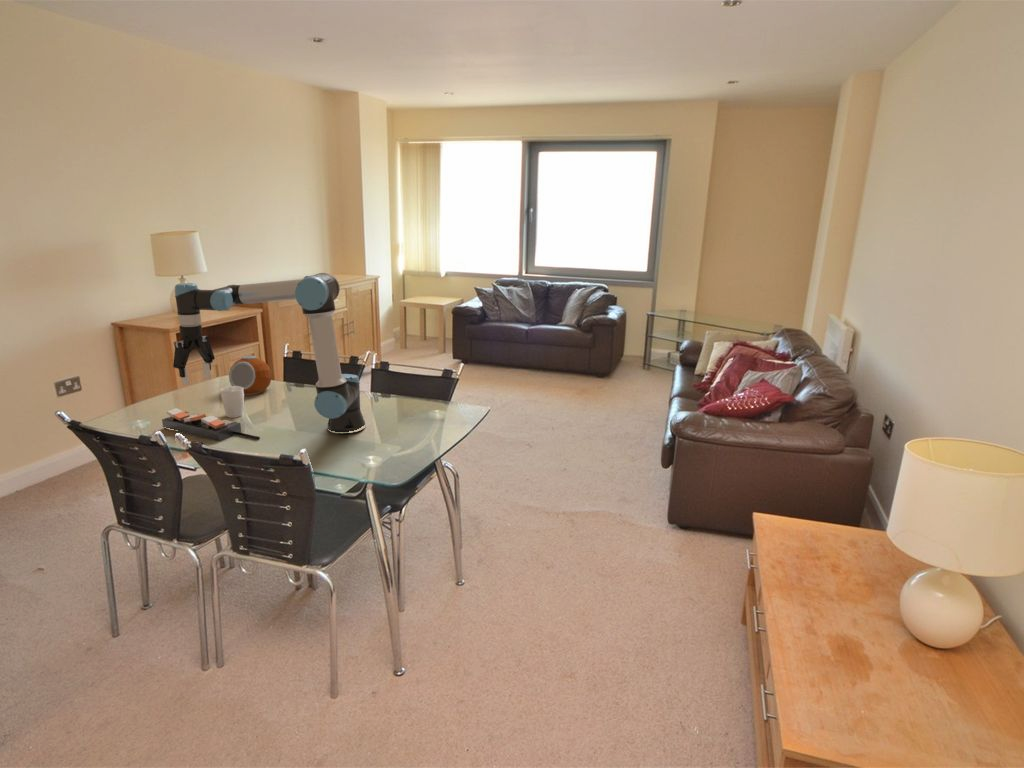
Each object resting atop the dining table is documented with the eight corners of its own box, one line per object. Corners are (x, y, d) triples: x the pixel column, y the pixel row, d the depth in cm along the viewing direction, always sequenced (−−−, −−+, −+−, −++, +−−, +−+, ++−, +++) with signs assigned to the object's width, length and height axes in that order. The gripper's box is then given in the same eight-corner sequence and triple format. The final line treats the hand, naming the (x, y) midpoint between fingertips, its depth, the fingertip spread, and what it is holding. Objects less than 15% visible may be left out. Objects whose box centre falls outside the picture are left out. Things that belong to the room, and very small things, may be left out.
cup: (237, 419, 255) (234, 392, 251) (218, 417, 256) (215, 390, 253) (250, 412, 263) (247, 386, 260) (232, 410, 265) (229, 384, 262)
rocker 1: (189, 417, 242) (189, 414, 242) (179, 420, 238) (179, 418, 237) (176, 410, 244) (176, 408, 243) (166, 413, 240) (166, 411, 239)
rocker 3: (224, 425, 235) (225, 422, 235) (215, 428, 231) (215, 425, 231) (211, 417, 237) (211, 415, 237) (201, 421, 233) (202, 418, 233)
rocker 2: (206, 416, 238) (205, 413, 238) (196, 420, 234) (195, 417, 234) (194, 418, 241) (193, 415, 241) (184, 421, 237) (183, 418, 237)
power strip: (264, 437, 237) (263, 425, 235) (243, 446, 227) (241, 434, 226) (186, 420, 252) (185, 409, 250) (163, 428, 242) (161, 416, 240)
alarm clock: (222, 394, 287) (219, 359, 282) (244, 384, 303) (241, 351, 298) (259, 397, 284) (256, 362, 279) (279, 387, 300) (276, 353, 296)
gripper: (207, 319, 237) (213, 373, 243) (156, 328, 217) (164, 387, 223) (221, 321, 234) (227, 376, 241) (171, 330, 215) (179, 390, 221)
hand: (196, 381), depth 232 cm, fingers open, 9 cm apart
